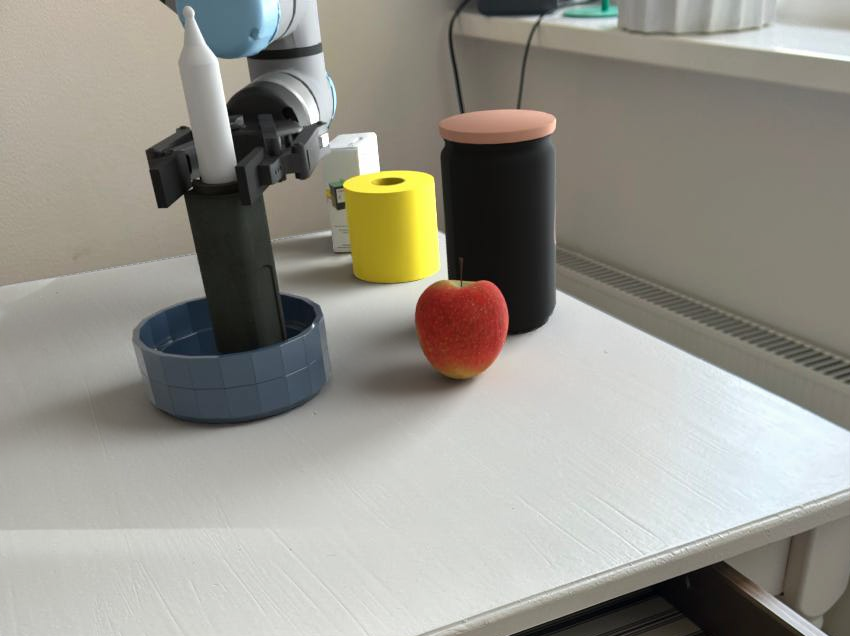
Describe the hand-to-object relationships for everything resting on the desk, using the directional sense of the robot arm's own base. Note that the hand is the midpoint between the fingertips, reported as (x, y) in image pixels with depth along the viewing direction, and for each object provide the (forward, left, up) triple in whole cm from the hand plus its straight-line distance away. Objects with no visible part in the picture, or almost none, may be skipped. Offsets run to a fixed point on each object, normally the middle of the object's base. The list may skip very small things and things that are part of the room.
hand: (200, 187), depth 73 cm
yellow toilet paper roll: (+8, +38, -18) cm, 43 cm away
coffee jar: (+21, +21, -18) cm, 35 cm away
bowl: (-2, +5, -18) cm, 19 cm away
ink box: (+2, +49, -18) cm, 52 cm away
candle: (0, +5, -14) cm, 15 cm away
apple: (+18, +7, -18) cm, 27 cm away
